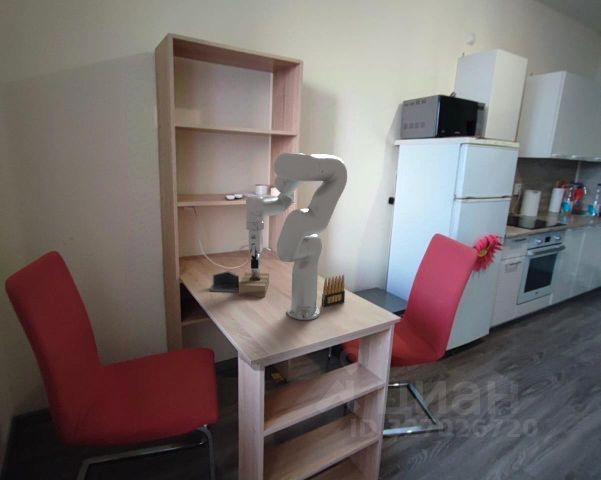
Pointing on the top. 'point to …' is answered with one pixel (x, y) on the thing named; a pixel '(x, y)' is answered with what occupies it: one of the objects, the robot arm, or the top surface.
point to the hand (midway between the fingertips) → (255, 266)
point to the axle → (256, 272)
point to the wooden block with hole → (254, 285)
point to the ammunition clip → (333, 291)
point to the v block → (225, 282)
